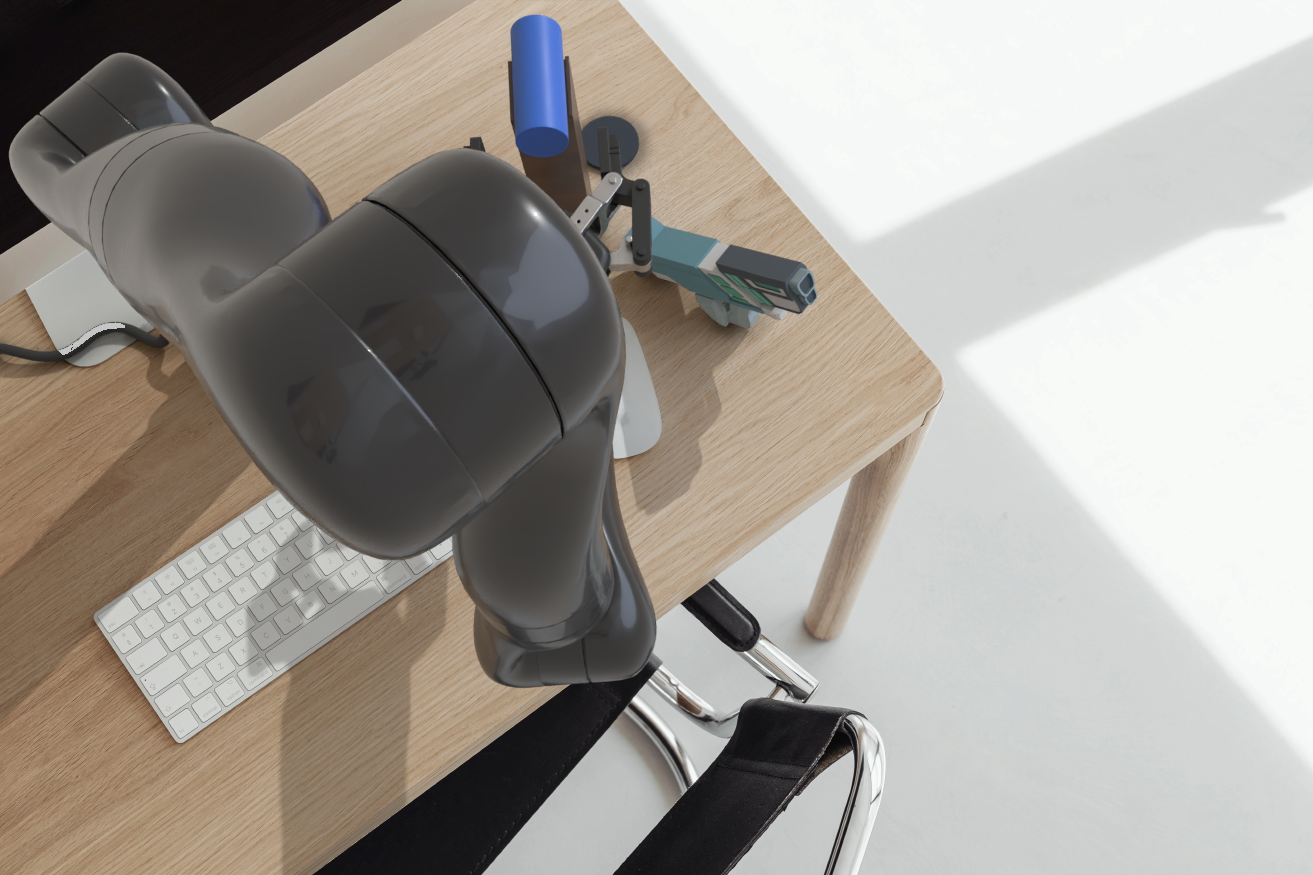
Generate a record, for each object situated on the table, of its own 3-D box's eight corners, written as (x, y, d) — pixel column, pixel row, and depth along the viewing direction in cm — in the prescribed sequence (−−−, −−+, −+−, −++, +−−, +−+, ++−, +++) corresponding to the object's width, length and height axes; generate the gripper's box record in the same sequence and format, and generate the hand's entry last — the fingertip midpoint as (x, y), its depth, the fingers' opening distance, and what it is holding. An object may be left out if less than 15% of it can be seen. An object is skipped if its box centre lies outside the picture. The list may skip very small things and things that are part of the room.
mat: (580, 173, 92) (580, 170, 92) (577, 121, 94) (576, 118, 93) (641, 168, 92) (641, 165, 92) (636, 116, 94) (636, 113, 93)
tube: (570, 156, 70) (567, 125, 66) (518, 159, 69) (512, 128, 66) (563, 48, 72) (560, 13, 69) (513, 50, 72) (507, 15, 69)
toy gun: (831, 371, 79) (783, 286, 72) (671, 316, 92) (618, 240, 85) (857, 337, 80) (812, 250, 73) (695, 287, 93) (644, 209, 86)
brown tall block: (548, 256, 90) (510, 121, 70) (545, 207, 91) (507, 61, 72) (597, 252, 90) (572, 115, 70) (593, 203, 91) (568, 55, 72)
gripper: (662, 327, 60) (642, 95, 64) (424, 347, 60) (421, 113, 64) (665, 372, 67) (646, 160, 72) (452, 389, 67) (448, 177, 72)
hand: (540, 138), depth 68 cm, fingers open, 8 cm apart
